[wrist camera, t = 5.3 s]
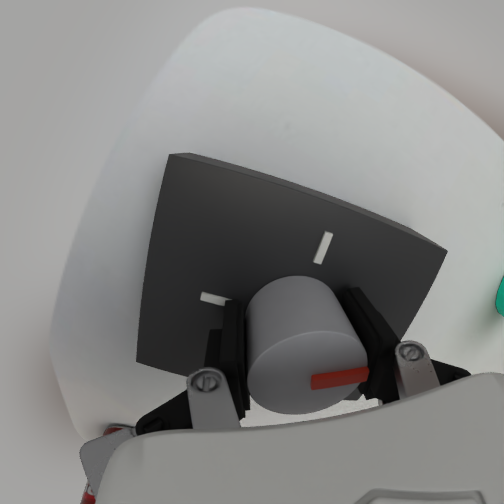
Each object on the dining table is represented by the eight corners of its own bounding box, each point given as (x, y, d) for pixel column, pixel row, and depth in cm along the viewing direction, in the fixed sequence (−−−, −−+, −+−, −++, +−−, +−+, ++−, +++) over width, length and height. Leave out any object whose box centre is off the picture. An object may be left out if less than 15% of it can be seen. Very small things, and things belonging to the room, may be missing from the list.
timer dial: (248, 355, 13) (250, 424, 9) (242, 278, 12) (241, 343, 8) (332, 347, 13) (357, 410, 9) (342, 271, 12) (382, 328, 8)
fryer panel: (153, 322, 17) (135, 364, 13) (188, 152, 14) (167, 153, 10) (342, 362, 19) (358, 402, 15) (411, 228, 15) (449, 252, 12)
